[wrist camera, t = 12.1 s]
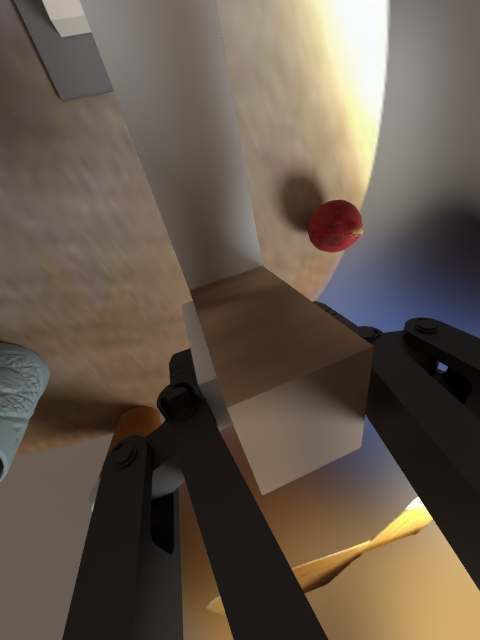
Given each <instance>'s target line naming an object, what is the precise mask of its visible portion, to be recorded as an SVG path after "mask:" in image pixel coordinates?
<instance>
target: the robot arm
mask: <svg viewBox="0 0 480 640" xmlns="http://www.w3.org/2000/svg"><path fill="white" fill-rule="evenodd" d="M313 303H315V304H316V305H317V306H319V307H320V308H322V309H323V310H324V311H326V312H327V313H329V314H330V315H331V316H333V317H334V318H335V319H337V320H338V321H340V322H341V323H342V324H344V325H345V326H347V327H348V328H349V329H351V330H352V331H354V332H355V333H356V334H358V335H359V336H360V337H362V338H363V339H365V340H366V341H367V342H369V343H370V344H372V345H373V346H374V350H373V357H372V365H371V373H370V381H369V388H368V396H367V404H366V411H365V414H366V416H367V417H368V419H369V421H370V422H371V423H372V425H373V427H374V428H375V430H376V431H377V433H378V434H379V436H380V438H381V439H382V441H383V442H384V444H385V445H386V447H387V448H388V450H389V451H390V453H391V455H392V456H393V458H394V459H395V461H396V462H397V464H398V465H399V467H400V468H401V470H402V471H403V473H404V475H405V476H406V478H407V479H408V481H409V482H410V484H411V485H412V487H413V488H414V490H415V492H416V493H417V495H418V496H419V498H420V499H421V501H422V502H423V504H424V506H425V507H426V509H427V510H428V512H429V513H430V515H431V516H432V518H433V519H434V521H435V522H436V524H437V526H438V527H439V529H440V530H441V532H442V533H443V535H444V536H445V538H446V539H447V541H448V542H449V544H450V545H451V547H452V549H453V550H454V552H455V553H456V554H457V556H458V558H459V560H460V561H461V563H462V564H463V565H464V567H465V569H466V570H467V572H468V573H469V575H470V576H471V578H472V580H473V581H474V583H475V584H476V586H477V587H478V589H479V590H480V339H479V338H477V337H475V336H473V335H470V334H468V333H466V332H464V331H461V330H459V329H457V328H454V327H452V326H450V325H448V324H445V323H443V322H441V321H438V320H435V319H431V318H413V319H410V320H408V321H407V322H406V323H405V327H404V330H402V331H395V332H387V333H383V332H382V331H380V330H378V329H376V328H373V327H368V326H361V327H358V326H357V325H355V324H354V323H352V322H351V321H349V320H348V319H346V318H345V317H343V316H342V315H340V314H338V313H337V312H336V311H334V310H332V309H331V308H330V307H328V306H327V305H326V304H323V303H320V302H317V301H314V302H313ZM182 309H183V314H184V319H185V324H186V329H187V334H188V339H189V343H190V349H187V350H184V351H182V352H179V353H176V354H174V355H173V356H172V358H171V360H170V362H169V371H170V385H168V386H167V387H165V388H164V390H163V391H162V392H161V393H160V395H159V397H158V399H157V407H158V409H159V410H160V412H161V413H162V415H163V416H164V418H165V419H166V420H165V421H164V422H163V424H162V425H161V426H159V427H158V428H157V429H156V430H154V431H153V432H152V433H150V434H149V435H148V436H146V437H145V438H143V436H140V435H132V436H128V437H126V438H124V439H123V440H121V441H120V442H119V443H117V444H116V445H115V446H114V447H113V448H112V450H111V451H110V452H109V454H108V455H107V457H106V460H105V462H104V465H103V469H102V473H101V478H100V482H99V486H98V490H97V495H96V499H95V503H94V507H93V512H92V516H91V520H90V524H89V529H88V533H87V537H86V541H85V546H84V550H83V554H82V559H81V563H80V567H79V571H78V575H77V579H76V584H75V588H74V593H73V597H72V601H71V605H70V609H69V613H68V618H67V622H66V626H65V631H64V635H63V639H62V640H183V616H182V584H181V553H180V525H179V523H180V522H179V491H178V487H179V486H180V485H181V484H182V483H183V482H184V481H185V482H186V485H187V488H188V491H189V495H190V498H191V501H192V504H193V508H194V511H195V514H196V518H197V521H198V524H199V527H200V530H201V534H202V537H203V541H204V544H205V547H206V550H207V554H208V557H209V560H210V563H211V567H212V570H213V573H214V577H215V580H216V583H217V586H218V589H219V593H220V596H221V599H222V603H223V606H224V609H225V613H226V616H227V619H228V622H229V626H230V629H231V632H232V635H233V638H234V640H328V638H327V636H326V634H325V633H324V631H323V629H322V627H321V625H320V623H319V621H318V619H317V617H316V615H315V613H314V611H313V610H312V608H311V606H310V604H309V602H308V600H307V598H306V596H305V595H304V592H303V590H302V589H301V587H300V585H299V583H298V581H297V579H296V577H295V575H294V573H293V571H292V569H291V568H290V566H289V564H288V562H287V560H286V558H285V556H284V554H283V552H282V550H281V548H280V547H279V545H278V543H277V541H276V539H275V537H274V535H273V533H272V531H271V529H270V528H269V526H268V524H267V522H266V520H265V518H264V516H263V514H262V512H261V510H260V508H259V506H258V505H257V503H256V501H255V499H254V497H253V495H252V493H251V491H250V489H249V488H248V486H247V484H246V482H245V480H244V478H243V476H242V474H241V472H240V470H239V468H238V466H237V464H236V463H235V461H234V459H233V457H232V455H231V453H230V451H229V449H228V447H227V445H226V443H225V442H224V440H223V438H222V436H221V434H220V432H219V430H221V429H224V428H226V427H228V426H231V425H233V422H232V420H231V418H230V415H229V413H228V410H227V408H226V405H225V401H224V398H223V395H222V392H221V389H220V385H219V382H218V379H217V376H216V373H215V369H214V366H213V363H212V360H211V357H210V354H209V350H208V347H207V344H206V341H205V338H204V334H203V331H202V328H201V325H200V322H199V319H198V315H197V312H196V309H195V306H194V303H193V301H192V302H189V303H186V304H183V305H182ZM439 362H441V363H443V364H445V365H446V366H448V369H447V371H442V370H440V369H438V365H439ZM218 428H219V430H218Z"/></svg>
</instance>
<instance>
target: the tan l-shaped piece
mask: <svg viewBox="0 0 480 640" xmlns="http://www.w3.org/2000/svg"><path fill="white" fill-rule="evenodd" d="M80 3H81V6H82V8H83V11H84V14H85V16H86V19H87V21H88V24H89V27H90V29H91V32H92V35H93V37H94V40H95V42H96V45H97V48H98V50H99V53H100V56H101V58H102V61H103V64H104V66H105V69H106V71H107V74H108V77H109V79H110V82H111V85H112V87H113V90H114V92H115V95H116V98H117V100H118V103H119V106H120V108H121V111H122V114H123V116H124V119H125V121H126V124H127V127H128V129H129V132H130V135H131V137H132V140H133V143H134V145H135V148H136V150H137V153H138V156H139V158H140V161H141V164H142V166H143V169H144V171H145V174H146V177H147V179H148V182H149V185H150V187H151V190H152V193H153V195H154V198H155V200H156V203H157V206H158V208H159V211H160V214H161V216H162V219H163V222H164V224H165V227H166V229H167V232H168V235H169V237H170V240H171V243H172V245H173V248H174V250H175V253H176V256H177V258H178V261H179V264H180V266H181V269H182V272H183V274H184V277H185V279H186V282H187V285H188V287H189V290H190V293H191V296H192V299H193V303H194V306H195V309H196V312H197V315H198V319H199V322H200V325H201V328H202V331H203V334H204V338H205V341H206V344H207V347H208V350H209V354H210V357H211V360H212V363H213V366H214V369H215V373H216V376H217V379H218V382H219V385H220V389H221V392H222V395H223V398H224V401H225V405H226V408H227V410H228V413H229V415H230V418H231V420H232V422H233V425H234V427H235V430H236V432H237V435H238V437H239V439H240V442H241V444H242V447H243V449H244V452H245V454H246V457H247V459H248V461H249V464H250V466H251V469H252V471H253V474H254V476H255V479H256V481H257V483H258V486H259V488H260V491H261V493H262V495H264V494H266V493H268V492H270V491H272V490H274V489H276V488H279V487H281V486H283V485H285V484H287V483H289V482H291V481H293V480H295V479H297V478H299V477H301V476H303V475H305V474H307V473H309V472H311V471H313V470H316V469H318V468H320V467H321V466H324V465H326V464H328V463H330V462H332V461H334V460H336V459H338V458H340V457H342V456H344V455H346V454H348V453H350V452H352V451H354V450H356V449H358V448H361V442H362V435H363V427H364V419H365V411H366V404H367V396H368V388H369V381H370V373H371V365H372V357H373V350H374V346H373V345H372V344H370V343H369V342H367V341H366V340H365V339H363V338H362V337H360V336H359V335H358V334H356V333H355V332H354V331H352V330H351V329H349V328H348V327H347V326H345V325H344V324H342V323H341V322H340V321H338V320H337V319H335V318H334V317H333V316H331V315H330V314H329V313H327V312H326V311H324V310H323V309H322V308H320V307H319V306H317V305H316V304H315V303H313V302H312V301H310V300H309V299H308V298H306V297H305V296H304V295H302V294H301V293H299V292H298V291H297V290H295V289H294V288H292V287H291V286H290V285H288V284H287V283H285V282H284V281H283V280H281V279H280V278H279V277H277V276H276V275H274V274H273V273H272V272H270V271H269V270H267V269H266V268H265V267H263V266H262V260H261V255H260V249H259V243H258V238H257V232H256V226H255V220H254V215H253V209H252V203H251V197H250V192H249V186H248V180H247V175H246V169H245V163H244V157H243V152H242V146H241V140H240V135H239V129H238V123H237V117H236V112H235V106H234V100H233V95H232V89H231V83H230V77H229V72H228V66H227V60H226V54H225V49H224V43H223V37H222V32H221V26H220V20H219V14H218V9H217V3H216V0H80Z"/></svg>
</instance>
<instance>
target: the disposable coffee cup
mask: <svg viewBox="0 0 480 640" xmlns="http://www.w3.org/2000/svg"><path fill="white" fill-rule="evenodd" d="M159 426H161V422H160V415H159V413H158V412H157V411H156V410H155V409H153V408H150V407H135V408H132V409H129V410H127V411H126V412H124V413H123V414H122V415H121V416H120V418H119V421H118V424H117V427H116V429H115V432H114V435H113V438H112V441H111V444H110V447H109V450H108V453H107V455H108V454H109V452H110V451H111V450H112V448H113V447H114V446H115V445H116V444H117V443H119V442H120V441H121V440H123V439H124V438H126V437H128V436H132V435H140V436H143V438H145V437H146V436H148V435H149V434H150V433H152V432H153V431H154V430H156V429H157V428H158V427H159ZM106 457H107V456H106ZM105 460H106V459H105ZM104 462H105V461H104ZM103 465H104V464H103ZM102 469H103V467H102ZM101 473H102V470H101ZM101 473H100V476H99V479H98V481H97V483H96V484H95V485H94V487H93V488H92V490H91V493H90V496H89V499H90V503H91V504H92V512H93V507H94V503H95V499H96V495H97V490H98V486H99V482H100V478H101Z"/></svg>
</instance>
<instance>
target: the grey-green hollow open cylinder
mask: <svg viewBox="0 0 480 640" xmlns="http://www.w3.org/2000/svg"><path fill="white" fill-rule="evenodd" d="M49 370H50V369H49V368H48V365H47V364H46V363H45V361H44V360H43V359H42V358H41V357H40V356H39V355H37V354H36V353H35V352H33V351H32V350H29V349H27V348H25V347H22V346H18V345H14V344H8V343H0V482H1V481H2V480H3V478H4V477H5V475H6V474H7V472H8V470H9V467H10V465H11V463H12V461H13V458H14V456H15V454H16V452H17V449H18V447H19V445H20V443H21V441H22V438H23V435H24V432H25V430H26V428H27V425H28V423H29V419H30V418H31V416H32V415H33V413H34V410H35V407H36V406H37V403H38V400H39V398H40V397H41V395H42V394H43V392H44V391H45V388H46V386H47V384H48V381H49V378H50V372H49Z"/></svg>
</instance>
